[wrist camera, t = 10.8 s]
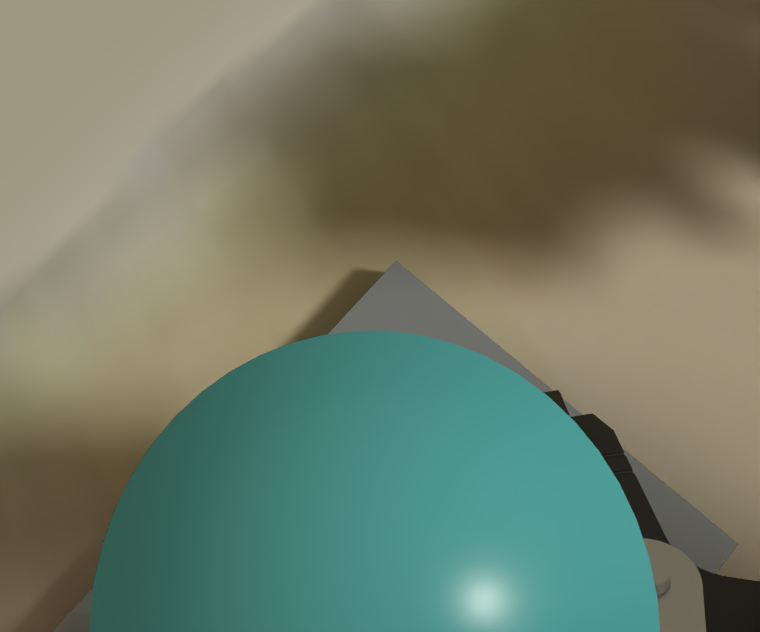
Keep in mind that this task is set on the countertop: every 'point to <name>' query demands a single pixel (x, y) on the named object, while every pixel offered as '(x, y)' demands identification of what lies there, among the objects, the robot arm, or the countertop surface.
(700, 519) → the board
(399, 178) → the countertop surface
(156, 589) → the ball
